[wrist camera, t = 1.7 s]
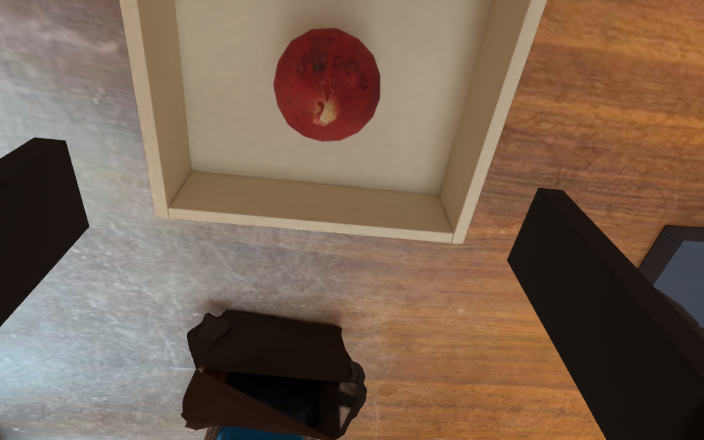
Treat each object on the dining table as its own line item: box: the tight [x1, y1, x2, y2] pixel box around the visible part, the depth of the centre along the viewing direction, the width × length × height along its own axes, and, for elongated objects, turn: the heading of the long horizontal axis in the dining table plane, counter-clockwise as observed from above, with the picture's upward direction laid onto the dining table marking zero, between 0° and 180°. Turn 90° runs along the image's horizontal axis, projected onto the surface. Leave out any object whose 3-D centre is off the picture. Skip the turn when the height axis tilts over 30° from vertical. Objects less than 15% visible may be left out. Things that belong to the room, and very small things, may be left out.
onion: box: [273, 28, 380, 142], centre depth 22 cm, size 6×6×8 cm
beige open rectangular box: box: [120, 0, 547, 244], centre depth 23 cm, size 20×18×5 cm
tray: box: [638, 226, 704, 328], centre depth 37 cm, size 17×12×2 cm
